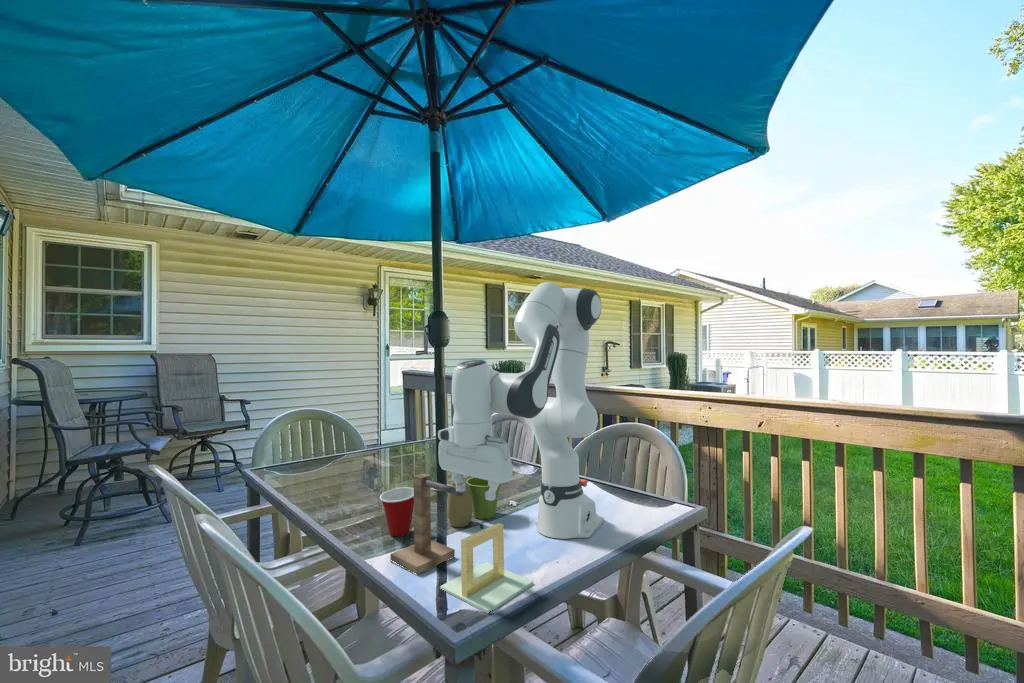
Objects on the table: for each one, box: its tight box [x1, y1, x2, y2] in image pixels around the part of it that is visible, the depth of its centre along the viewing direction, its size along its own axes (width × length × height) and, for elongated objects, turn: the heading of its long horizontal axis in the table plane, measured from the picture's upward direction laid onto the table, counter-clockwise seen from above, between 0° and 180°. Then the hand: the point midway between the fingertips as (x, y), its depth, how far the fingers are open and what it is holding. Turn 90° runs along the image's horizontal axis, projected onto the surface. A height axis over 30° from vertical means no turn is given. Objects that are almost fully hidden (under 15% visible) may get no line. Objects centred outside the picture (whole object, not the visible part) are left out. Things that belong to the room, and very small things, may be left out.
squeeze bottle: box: [446, 474, 473, 528], centre depth 138 cm, size 8×8×18 cm
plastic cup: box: [379, 486, 414, 537], centre depth 132 cm, size 11×11×12 cm
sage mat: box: [439, 561, 534, 614], centre depth 102 cm, size 15×15×1 cm
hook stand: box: [390, 473, 464, 575], centre depth 112 cm, size 12×20×22 cm, turn 49°
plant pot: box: [466, 477, 502, 520], centre depth 145 cm, size 12×12×11 cm
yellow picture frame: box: [460, 522, 505, 598], centre depth 101 cm, size 12×2×12 cm, turn 139°
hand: (475, 495), depth 99 cm, fingers open, 8 cm apart
